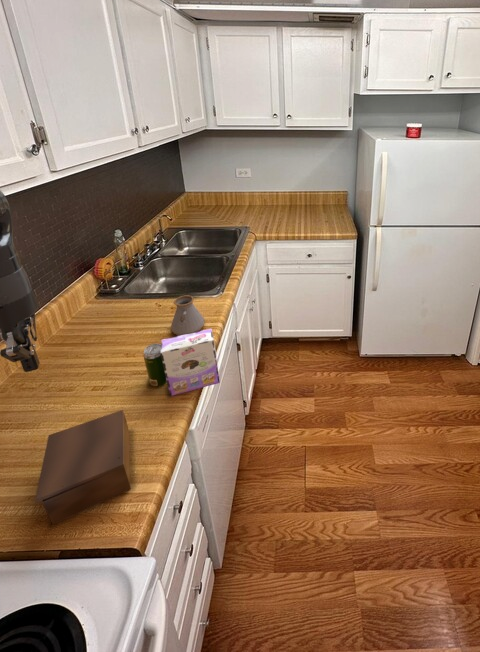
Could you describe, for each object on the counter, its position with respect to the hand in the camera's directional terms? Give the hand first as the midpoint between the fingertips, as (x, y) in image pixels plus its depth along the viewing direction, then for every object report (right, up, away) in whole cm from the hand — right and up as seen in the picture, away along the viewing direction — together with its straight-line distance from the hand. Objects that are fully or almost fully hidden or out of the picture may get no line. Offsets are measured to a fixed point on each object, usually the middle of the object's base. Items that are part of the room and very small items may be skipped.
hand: (32, 368), depth 66 cm
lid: (+7, -20, +5) cm, 22 cm away
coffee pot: (+12, -11, +51) cm, 53 cm away
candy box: (+21, -18, +32) cm, 42 cm away
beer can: (+10, -18, +33) cm, 39 cm away
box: (+7, -27, +8) cm, 30 cm away
